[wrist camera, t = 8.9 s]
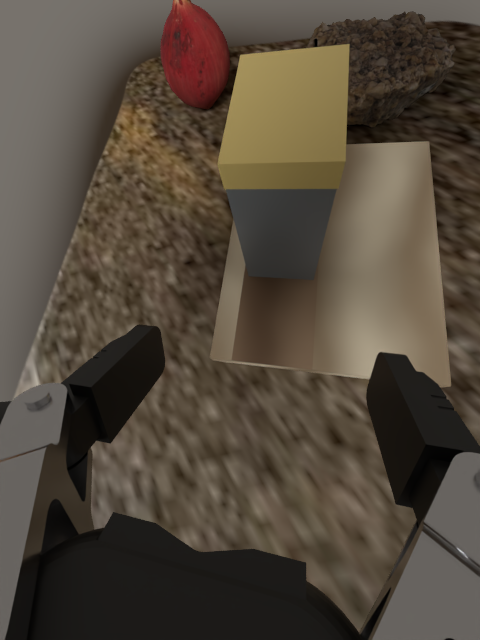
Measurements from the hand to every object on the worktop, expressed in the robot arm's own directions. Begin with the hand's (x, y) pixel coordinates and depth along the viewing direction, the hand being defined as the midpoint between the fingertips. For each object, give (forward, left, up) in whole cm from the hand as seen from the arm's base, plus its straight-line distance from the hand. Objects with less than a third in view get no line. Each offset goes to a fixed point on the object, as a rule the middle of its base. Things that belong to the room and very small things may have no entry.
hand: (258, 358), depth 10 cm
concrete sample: (-7, -26, -8) cm, 28 cm away
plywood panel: (-3, -10, -8) cm, 13 cm away
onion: (+9, -26, -8) cm, 28 cm away
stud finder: (0, -10, -7) cm, 12 cm away
